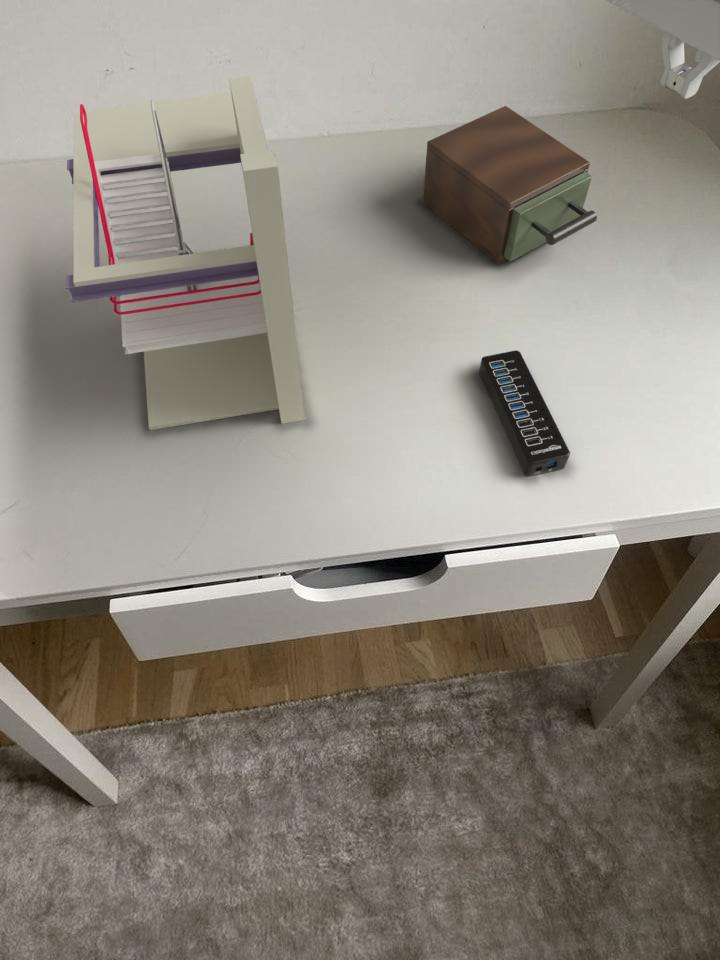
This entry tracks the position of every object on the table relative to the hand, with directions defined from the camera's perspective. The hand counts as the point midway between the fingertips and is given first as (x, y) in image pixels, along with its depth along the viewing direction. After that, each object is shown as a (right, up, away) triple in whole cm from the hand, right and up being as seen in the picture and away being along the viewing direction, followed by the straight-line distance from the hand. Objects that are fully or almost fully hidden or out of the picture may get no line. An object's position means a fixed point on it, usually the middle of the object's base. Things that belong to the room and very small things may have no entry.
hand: (677, 90), depth 69 cm
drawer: (-9, -3, +27) cm, 28 cm away
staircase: (-46, -20, +18) cm, 53 cm away
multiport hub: (-12, -29, +11) cm, 33 cm away
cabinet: (-11, -1, +29) cm, 31 cm away
